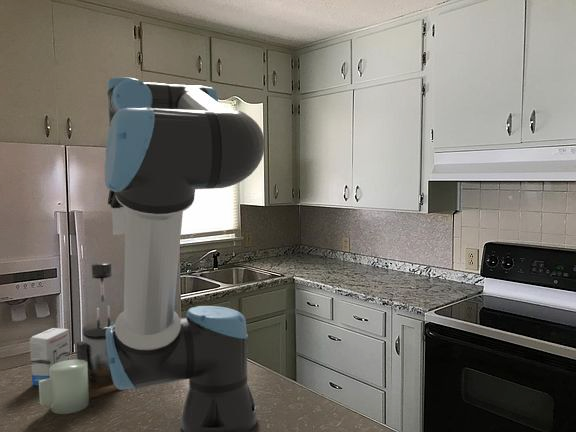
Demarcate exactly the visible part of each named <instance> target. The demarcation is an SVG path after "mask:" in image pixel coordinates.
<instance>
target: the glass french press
mask: <svg viewBox="0 0 576 432" xmlns="http://www.w3.org/2000/svg"><path fill="white" fill-rule="evenodd" d="M106 309H107V320H105V321H101V319H100V307H96V322H93V323H89V324H87V325H84V326H83V328H82V336H83V338H84V339H83V340H84V341H82V340H80V341H78V342H76V359H79V360H85V361H86V362H87V365H88V387H89V399H92V398H96V397H99V396H102V395H106V394H109V393H112V392H115V391H118V390H119V389H118V388H116V387H115V385H114V383H113V380H112V375H111V370H110V362H109V356H108V351H107V343H106V329H107V328H109V327H112V326H115V322H116V320H111V307H110V305H107V306H106Z"/></svg>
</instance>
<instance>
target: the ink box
mask: <svg viewBox="0 0 576 432" xmlns="http://www.w3.org/2000/svg"><path fill="white" fill-rule="evenodd" d="M29 348H30V364H31V366H30V367H31V383H32V386H38V387H39V381H40V380H44V379H47V378H50V375H49V368H50V367H51V366H52V365H54V364H56V363H58V362H62V361H66V360H71V355H70V352H71V351H70V331H69V328H60V327H59V328H58V327H52V328H49V329H47V330H44V331H42V332H40V333H37V334H35V335H32V336H31V337H30V338H29Z"/></svg>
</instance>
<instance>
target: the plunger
mask: <svg viewBox="0 0 576 432" xmlns="http://www.w3.org/2000/svg"><path fill="white" fill-rule="evenodd" d="M112 272H113V271H112V263H111V262H95V263H92V264H91V278H92V279H96V280H98V279H99V280H100V282H99V283H100V301H101V303H102V302H105V301H106V300H105V299H106V298H105V279H108V278H111V277H112V274H113V273H112Z"/></svg>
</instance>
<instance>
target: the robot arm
mask: <svg viewBox="0 0 576 432" xmlns="http://www.w3.org/2000/svg"><path fill="white" fill-rule="evenodd" d="M106 93H107V102H108V103H107V104H108V105H107V106H108V117H109V118H108V121H109V125H108V126H109V127H108V134H107V139H106V147H105V148H106V149H105V160H104V161H105V162H104V182H105V183H104V184H105V187H106V189H108V190H109V192H108V199H107V204H108V205H109V206H110V207H111V215H112V217H111V219H112V235H113V236H117V235H125V240H124V284H123V285H124V286H123V287H124V288H123V289H124V290H123V291H124V292H123V310H122V312H120V313H119V315H118V316H117V317H116V318H115V319H116V320H115V321H116V322H115V326H112V327H109V328H107V329H106V343H107V351H108V356H109V362H110V370H111V375H112V380H113V383H114V385H115V387H116V388H118V390H121V391H124V390H137V389H142V388H147V387H151V386H158V385H162V384H168V383H169V384H170V383H173V382H179V381H185V380H189V381H188V382H189V383H188V391H187V394H186V398H185V401H184V405H183V408H182V411H181V415H180V416H181V417H180V422H181V423H180V425H181V429H182V430H181V431H182V432H251V430H253V429H254V428H255V426H256V425H257V421H258V413H257V406H256V404H255V400H254V398H253V395H252V393H251V389H250V387H249V383H248V337H249V335H248V332H247V331H248V329H247V321H246V318H245V316H244V315H243V314H242V313H241V312H240V311H238V310H236V309H232V308H229V307H224V306H218V305H217V306H216V305H197V306H194V307H190V308H189V309H187V313H186V314H185V316H186V317H181V318H180V315H178V313H177V312H176V311H175V304H176V303H175V302H176V291H177V281H178V270H179V259H180V248H181V239H182V238H181V235H182V226H183V214H184V211H186V210H188V209H189V208H190V207H191V206H193V203H194V201H195V195H196V190H209V189H212V190H213V189H225V188H228V187H229V188H230V187H231V186H234V185H236V184H240V183H241V182H244V180H245V179H247V178H248V177H250V176H252V174H253V173H254V172H255V171H256V169H257V168H258V167H259V165H260V164H261V161H262V159H263V157H264V154H265V153H264V152H265V146H266V145H265V137H264V134H263V133H264V132H263V131H262V128H261V127H260V125H259V124H258V123H257V121H256V120H254V118H252V117H251V116H250V115H248V114H247V113H245V112H243V111H241V110H238V109H228V107H226V106H225V105H223V104H222V103H220V102H219V96H218V93H217V91H216V89H215V88H213V87H209V86H204V85H186V84H169V83H158V82H144V81H142V80H140V79H137V78H133V77H125V76H124V77H122V76H119V77H113V78H109V79H108V82H107V92H106Z"/></svg>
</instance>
